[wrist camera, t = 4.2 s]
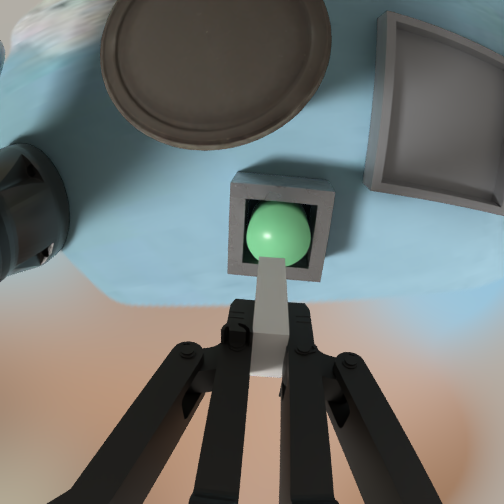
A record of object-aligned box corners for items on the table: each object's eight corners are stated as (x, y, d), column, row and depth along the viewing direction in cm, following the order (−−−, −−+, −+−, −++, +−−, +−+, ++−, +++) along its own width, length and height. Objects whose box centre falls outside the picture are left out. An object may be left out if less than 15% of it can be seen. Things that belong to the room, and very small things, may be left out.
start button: (249, 243, 29) (244, 264, 26) (252, 191, 27) (248, 205, 23) (303, 248, 29) (306, 269, 25) (309, 196, 27) (314, 211, 23)
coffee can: (161, 66, 23) (65, 45, 10) (255, -3, 20) (233, -87, 7) (231, 151, 26) (185, 197, 14) (329, 86, 23) (380, 66, 10)
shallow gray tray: (362, 182, 26) (370, 190, 24) (377, 18, 19) (387, 10, 17) (490, 206, 26) (504, 216, 23) (508, 69, 19) (524, 69, 16)
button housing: (233, 253, 31) (227, 273, 27) (237, 171, 27) (230, 182, 23) (315, 260, 30) (320, 282, 27) (327, 180, 27) (335, 192, 23)
